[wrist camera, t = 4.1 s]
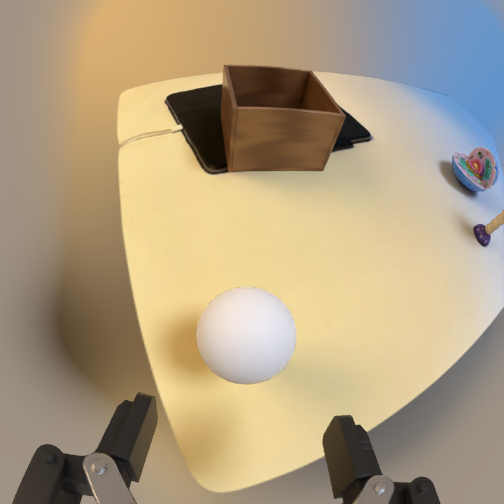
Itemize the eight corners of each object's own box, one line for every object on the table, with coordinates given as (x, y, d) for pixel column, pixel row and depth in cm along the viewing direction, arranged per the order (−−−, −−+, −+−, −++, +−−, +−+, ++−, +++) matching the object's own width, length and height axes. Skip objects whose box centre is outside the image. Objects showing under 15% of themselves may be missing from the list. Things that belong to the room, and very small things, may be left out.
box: (228, 171, 33) (232, 108, 25) (220, 116, 39) (223, 64, 31) (323, 170, 35) (346, 116, 27) (298, 118, 41) (311, 70, 33)
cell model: (436, 157, 44) (459, 125, 35) (470, 173, 44) (492, 145, 36) (454, 194, 39) (482, 160, 30) (487, 207, 39) (513, 179, 31)
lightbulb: (230, 398, 21) (238, 407, 11) (190, 342, 23) (169, 308, 13) (285, 359, 23) (331, 335, 14) (245, 307, 25) (263, 251, 16)
